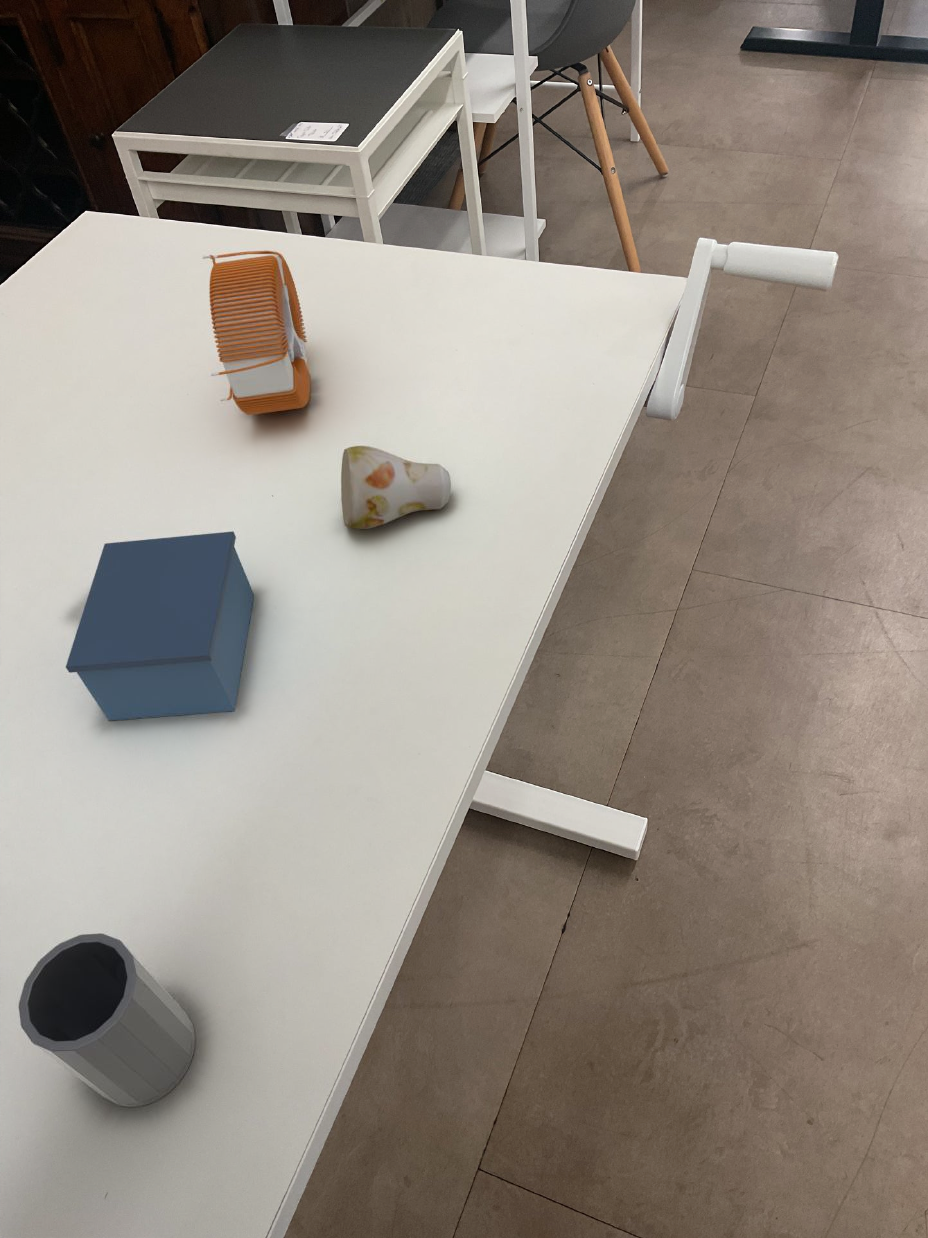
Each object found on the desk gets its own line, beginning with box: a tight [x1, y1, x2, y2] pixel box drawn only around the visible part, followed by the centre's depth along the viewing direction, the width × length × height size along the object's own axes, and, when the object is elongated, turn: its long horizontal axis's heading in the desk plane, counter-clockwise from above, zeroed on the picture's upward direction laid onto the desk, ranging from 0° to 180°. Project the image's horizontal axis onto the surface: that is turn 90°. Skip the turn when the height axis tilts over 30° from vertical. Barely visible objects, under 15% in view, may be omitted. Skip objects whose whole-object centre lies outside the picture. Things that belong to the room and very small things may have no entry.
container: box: [65, 531, 255, 722], centre depth 79 cm, size 13×11×7 cm
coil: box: [202, 250, 311, 416], centre depth 97 cm, size 7×15×15 cm, turn 4°
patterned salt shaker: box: [340, 445, 452, 530], centre depth 87 cm, size 8×10×10 cm
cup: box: [18, 932, 196, 1108], centre depth 57 cm, size 6×6×10 cm
